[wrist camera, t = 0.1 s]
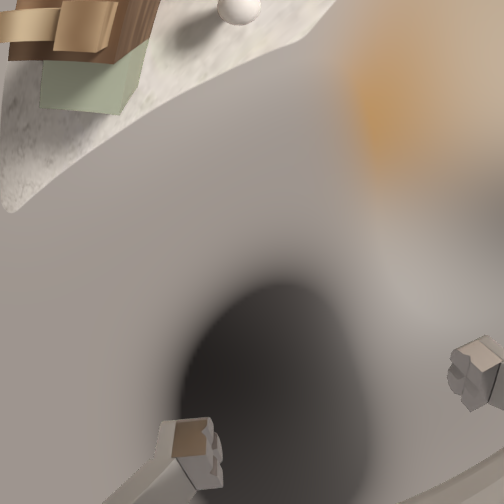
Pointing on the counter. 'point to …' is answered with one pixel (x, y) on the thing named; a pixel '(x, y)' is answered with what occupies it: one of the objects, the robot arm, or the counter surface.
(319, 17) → the counter surface
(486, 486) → the robot arm
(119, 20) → the walnut shelf
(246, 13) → the lightbulb
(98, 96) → the sage step
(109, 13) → the beech mallet
